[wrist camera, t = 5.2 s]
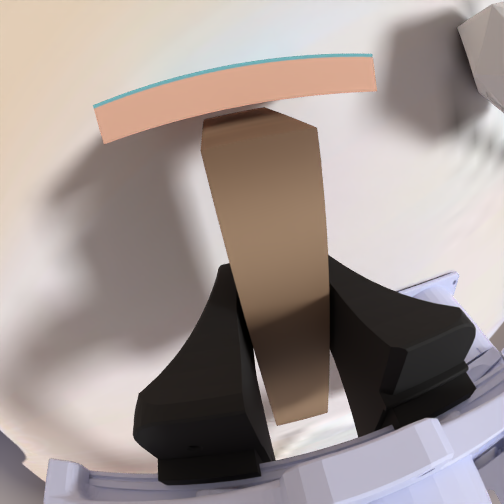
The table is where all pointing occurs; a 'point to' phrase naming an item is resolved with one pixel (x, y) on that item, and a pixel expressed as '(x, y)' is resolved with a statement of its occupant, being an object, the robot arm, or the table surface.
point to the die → (486, 51)
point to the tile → (233, 90)
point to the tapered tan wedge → (276, 249)
